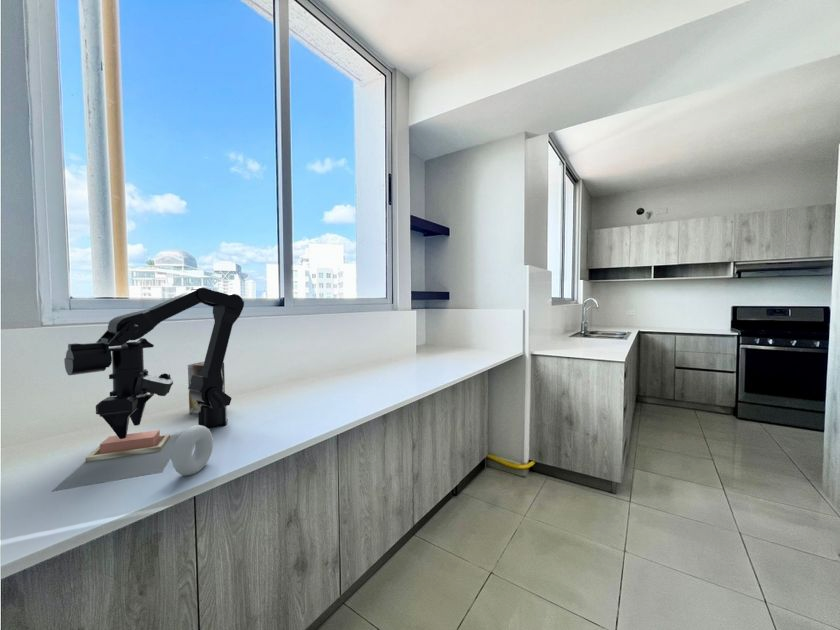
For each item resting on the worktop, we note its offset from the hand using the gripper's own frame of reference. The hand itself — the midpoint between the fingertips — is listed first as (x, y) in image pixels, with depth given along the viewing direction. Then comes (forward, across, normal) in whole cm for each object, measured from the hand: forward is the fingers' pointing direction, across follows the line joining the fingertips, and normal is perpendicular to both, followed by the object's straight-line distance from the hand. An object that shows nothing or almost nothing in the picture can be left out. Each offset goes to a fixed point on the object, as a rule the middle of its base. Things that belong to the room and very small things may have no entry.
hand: (130, 431), depth 81 cm
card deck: (+4, 0, 0) cm, 4 cm away
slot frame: (+5, 0, 0) cm, 5 cm away
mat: (+5, -5, -2) cm, 7 cm away
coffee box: (+5, +28, -12) cm, 31 cm away
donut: (+5, -19, -16) cm, 25 cm away
